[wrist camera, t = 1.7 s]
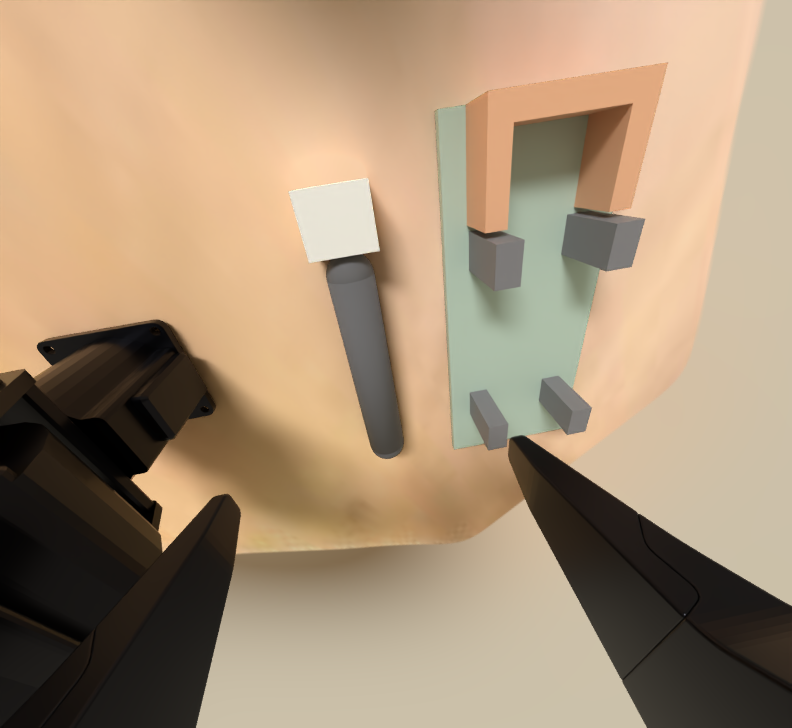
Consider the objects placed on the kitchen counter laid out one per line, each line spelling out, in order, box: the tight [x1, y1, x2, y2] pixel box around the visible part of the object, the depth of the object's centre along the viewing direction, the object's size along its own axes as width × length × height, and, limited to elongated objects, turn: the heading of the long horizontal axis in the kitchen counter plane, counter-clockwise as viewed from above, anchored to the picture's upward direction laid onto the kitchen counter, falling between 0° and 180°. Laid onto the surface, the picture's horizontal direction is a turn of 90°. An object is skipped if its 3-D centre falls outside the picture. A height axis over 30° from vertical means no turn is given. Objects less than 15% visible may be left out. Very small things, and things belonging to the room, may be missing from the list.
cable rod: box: [289, 178, 404, 459], centre depth 18 cm, size 3×17×2 cm, turn 8°
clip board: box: [435, 63, 668, 450], centre depth 17 cm, size 9×21×4 cm, turn 8°
